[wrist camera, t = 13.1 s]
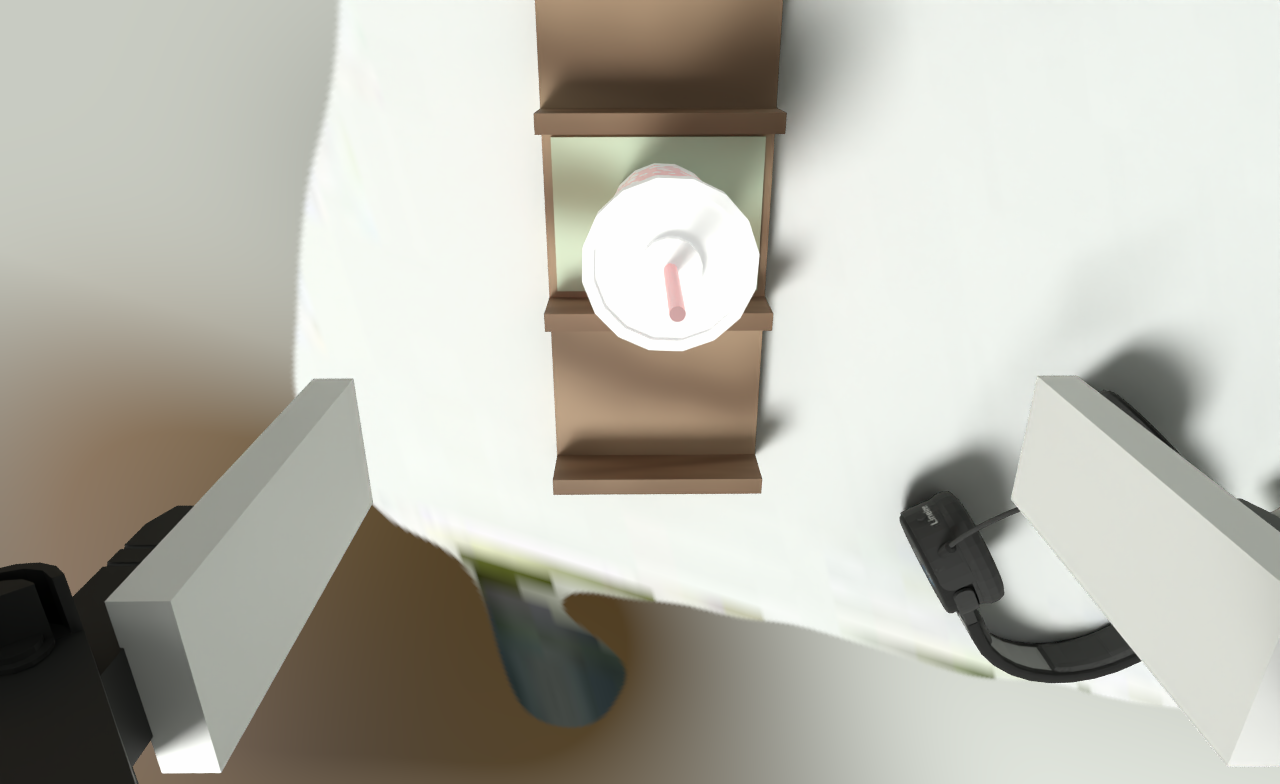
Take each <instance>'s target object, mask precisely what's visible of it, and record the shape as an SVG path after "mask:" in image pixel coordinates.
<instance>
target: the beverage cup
mask: <svg viewBox="0 0 1280 784" xmlns="http://www.w3.org/2000/svg"><path fill="white" fill-rule="evenodd" d="M759 255H760V254H759V251H758V248H757V245H756V241H755V238H754V235H753V232H752V229H751V225H750V222H749V220H748V219H747V218H746V217H745V216H744V214H743V213H742V212H741V211H740V210H739V209H738V207H737V206H736V205H735V204H734V203H733V202H732V201H731V199H730V198H729V197H728V196H727V195H726V194H725V193H724V192H723V191H721V190H719V189H717V188H715V187H713V186H711V185H709V184H707V183H705V182H702V181H701V180H700V179H699V178H698V177H697V176H696V175H695V174H694V173H692V172H690V171H688V170H686V169H684V168H682V167H680V166H678V165H676V164H660V163H654V164H651V165H648V166H646V167H643V168H640V169H638V170H635V171H634V172H633V173H632V174H631V175H630V176H629V177H628V178H627V179H625V180H624V181H623V182H622V183H621V184H620V185H619V187H618V189H617V191H616V193H615V195H614V197H613V198H612V199H611V200H610V201H609V202H608V203H607V204H606V205H605V206H603V207H602V208H601V209H600V210H599V211H598V213H597V215H596V217H595V220H594V222H593V224H592V226H591V229H590V231H589V233H588V236H587V238H586V240H585V242H584V245H583V248H582V283H583V286H584V288H585V290H586V293H587V295H588V298H589V300H590V303H591V305H592V308H593V310H594V312H595V314H596V315H597V316H598V317H599V318H600V319H601V320H602V321H603V322H604V323H605V324H606V325H607V326H608V327H609V328H610V329H611V330H612V331H613V332H614V333H615V334H616V335H617V336H618V337H620V338H622V339H624V340H627V341H629V342H631V343H634V344H636V345H638V346H641V347H643V348H645V349H647V350H659V351H685V350H688V349H691V348H693V347H696V346H699V345H702V344H705V343H708V342H711V341H714V340H715V339H716V338H718V337H719V336H720V335H721V334H722V333H724V332H725V331H726V330H727V329H728V328H729V327H731V326H732V325H733V324H734V323H735V322H737V321H738V320H739V319H740V318H741V316H742V314H743V312H744V310H745V308H746V307H747V305H748V303H749V301H750V299H751V297H752V295H753V293H754V292H755V290H756V285H757V275H758V265H759Z"/></svg>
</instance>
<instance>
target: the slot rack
mask: <svg viewBox="0 0 1280 784" xmlns="http://www.w3.org/2000/svg"><path fill="white" fill-rule="evenodd" d="M782 10H783V0H535V11H536V32H537V52H538V72H539V93H540V109H539V110H538V111H536V112H535V113H534V130H535V135H542V154H543V174H544V194H545V215H546V235H547V255H548V276H549V296H550V298H549V301H548V304H547V307H546V310H545V313H544V321H545V332H551V337H552V357H553V377H554V398H555V418H556V438H557V460H556V466H555V471H554V477H553V492H554V495H589V494H748V493H761V488H762V477H761V474H760V470H759V467H758V463H757V460H756V456H755V444H756V428H757V411H758V395H759V379H760V363H761V347H762V331H772V324H773V312H772V310H771V308H770V306H769V304H768V302H767V300H766V298H765V283H766V267H767V251H768V235H769V219H770V203H771V187H772V170H773V154H774V138H775V134H785V131H786V116H787V113H786V112H784V111H782V110H780V109H778V108H776V106H777V90H778V74H779V58H780V42H781V26H782ZM654 163H660V164H676V165H678V166H680V167H682V168H684V169H686V170H688V171H690V172H692V173H694V174H695V175H696V176H697V177H698V178H699V179H700V180H701V181H702V182H705V183H707V184H709V185H711V186H713V187H715V188H717V189H719V190H721V191H723V192H724V193H725V194H726V195H727V196H728V197H729V198H730V199H731V201H732V202H733V203H734V204H735V205H736V206H737V207H738V209H739V210H740V211H741V212H742V213H743V214H744V216H745V217H746V218H747V219H748V220H749V222H750V225H751V229H752V232H753V235H754V238H755V241H756V245H757V248H758V251H759V254H760V255H759V265H758V275H757V285H756V290H755V292H754V293H753V295H752V297H751V299H750V301H749V303H748V305H747V307H746V308H745V310H744V312H743V314H742V316H741V318H740V319H739V320H738V321H737V322H735V323H734V324H733V325H732V326H731V327H729V328H728V329H727V330H726V331H725V332H724V333H722V334H721V335H720V336H719V337H718V338H716V339H715V340H714V341H711V342H708V343H705V344H702V345H699V346H696V347H693V348H691V349H688V350H685V351H659V350H647V349H645V348H643V347H641V346H638V345H636V344H634V343H631V342H629V341H627V340H624V339H622V338H620V337H618V336H617V335H616V334H615V333H614V332H613V331H612V330H611V329H610V328H609V327H608V326H607V325H606V324H605V323H604V322H603V321H602V320H601V319H600V318H599V317H598V316H597V315H596V314H595V312H594V310H593V308H592V305H591V303H590V300H589V298H588V295H587V293H586V290H585V288H584V286H583V283H582V248H583V245H584V242H585V240H586V238H587V236H588V233H589V231H590V229H591V226H592V224H593V222H594V220H595V217H596V215H597V213H598V211H599V210H600V209H601V208H602V207H603V206H605V205H606V204H607V203H608V202H609V201H610V200H611V199H612V198H613V197H614V195H615V193H616V191H617V189H618V187H619V185H620V184H621V183H622V182H623V181H624V180H625V179H627V178H628V177H629V176H630V175H631V174H632V173H633V172H634V171H635V170H638V169H640V168H643V167H646V166H648V165H651V164H654Z"/></svg>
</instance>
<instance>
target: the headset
mask: <svg viewBox="0 0 1280 784" xmlns="http://www.w3.org/2000/svg"><path fill="white" fill-rule="evenodd" d="M1100 394H1101V395H1103V396H1104V397H1105V398H1107V399H1108V400H1109V401H1110V402H1112V403H1113V404H1114V405H1116V406H1117V407H1118V408H1120V409H1121V410H1122V411H1123V412H1125V413H1126V414H1127V415H1129V416H1130V417H1131V418H1133V419H1134V420H1135V421H1136V422H1138V423H1139V424H1140V425H1142V426H1143V427H1144V428H1145V429H1147V430H1148V431H1149V432H1151V433H1152V434H1153V435H1155V436H1156V437H1157V438H1158V439H1160V440H1161V441H1162V442H1164V443H1165V444H1166V445H1168V446H1169V447H1170V448H1171V449H1173V450H1174V451H1175V452H1177V453H1178V451H1177V450H1176V449H1175V448H1174V447H1173V446H1172V445H1171V444H1170V443H1169V442H1168V441H1167V440H1166V439H1165V438H1164V437H1163V436H1162V435H1161V434H1160V433H1159V432H1158V431H1157V430H1156V429H1155V428H1154V427H1153V426H1152V425H1151V424H1150V423H1149V422H1148V421H1147V420H1146V419H1145V418H1144V417H1143V416H1142V415H1141V414H1140V413H1139V412H1137V411H1136V410H1135V409H1134V408H1133V407H1132V406H1131V405H1130V404H1128V403H1127V402H1126V401H1125V400H1124V399H1122V398H1121V397H1120V396H1119V395H1117V394H1116V393H1114V392H1111V391H1105V390H1103V391H1101V392H1100ZM1178 454H1179V453H1178ZM1179 455H1180V454H1179ZM1017 512H1020V510H1019V509H1018V508H1014V509H1012V510H1009V511H1007V512H1005V513H1002V514H1000V515H998V516H996V517H994V518H991V519H989V520H987V521H985V522H983V523H981V524H980V525H978V526H975V524H974V522H973V521H972V519H971V517H970V516H969V514H968V512H967V511H966V509H965V508H964V506H963V505H962V504H961V502H960V501H959V500H958V499H957V497H955V496H954V495H953V494H952V493H951V492H949V491H945V492H940V493H938V494H936V495H934V496H933V497H932V498H931V499H930V500H928V501H925V502H923V503H921V504H918V505H916V506H914V507H912V508H910V509H907V510H905V511H903V512H901V516H900V523H901V526H902V528H903V530H904V532H905V534H906V537H907V539H908V541H909V543H910V545H911V547H912V549H913V551H914V553H915V555H916V557H917V559H918V561H919V563H920V565H921V567H922V569H923V571H924V573H925V574H926V576H927V578H928V580H929V582H930V584H931V586H932V588H933V589H934V591H935V593H936V595H937V597H938V598H939V600H940V602H941V604H942V605H943V607H944V609H945V610H946V611H947V612H948V613H954V612H957V614H958V616H959V618H960V619H961V621H962V623H963V624H964V626H965V628H966V630H967V631H968V633H969V635H970V636H971V638H972V640H973V641H974V643H975V645H976V646H977V648H978V650H979V651H980V653H981V654H982V655H983V656H984V657H985V658H986V659H987V660H988V661H989V662H991V663H992V664H993V665H994V666H996V667H998V668H999V669H1001V670H1003V671H1005V672H1007V673H1008V674H1010V675H1013V676H1016V677H1020V678H1023V679H1026V680H1029V681H1037V682H1045V683H1069V682H1077V681H1083V680H1089V679H1095V678H1098V677H1102V676H1105V675H1108V674H1112V673H1115V672H1118V671H1120V670H1123V669H1125V668H1127V667H1129V666H1132V665H1134V664H1136V663H1139V662H1141V660H1140V658H1139V657H1138V656H1137V655H1136V653H1135V652H1134V651H1133V650H1132V648H1131V647H1130V646H1129V645H1128V644H1127V642H1126V641H1125V640H1124V639H1123V637H1122V636H1121V635H1120V634H1119V632H1118V631H1117V630H1116V629H1115V627H1114V626H1113V625H1110V626H1107V627H1105V628H1103V629H1101V630H1099V631H1097V632H1094V633H1092V634H1089V635H1086V636H1083V637H1079V638H1076V639H1072V640H1066V641H1060V642H1054V643H1036V644H1030V643H1020V642H1013V641H1009V640H1006V639H1002V638H999V637H997V636H995V635H993V634H991V633H989V631H988V629H987V628H986V625H985V623H984V620H983V618H982V617H981V615H980V613H979V612H978V610H977V609H978V608H979V605H978V604H982V603H993V602H996V601H998V600H1000V599H1001V598H1002V597H1003V596H1004V587H1003V582H1002V579H1001V576H1000V574H999V571H998V569H997V567H996V564H995V562H994V560H993V558H992V556H991V554H990V552H989V550H988V548H987V546H986V544H985V542H984V540H983V538H982V536H981V535H980V533H979V531H978V530H980V529H982V528H984V527H986V526H988V525H990V524H992V523H994V522H996V521H999V520H1001V519H1003V518H1005V517H1008V516H1010V515H1013V514H1015V513H1017Z"/></svg>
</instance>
